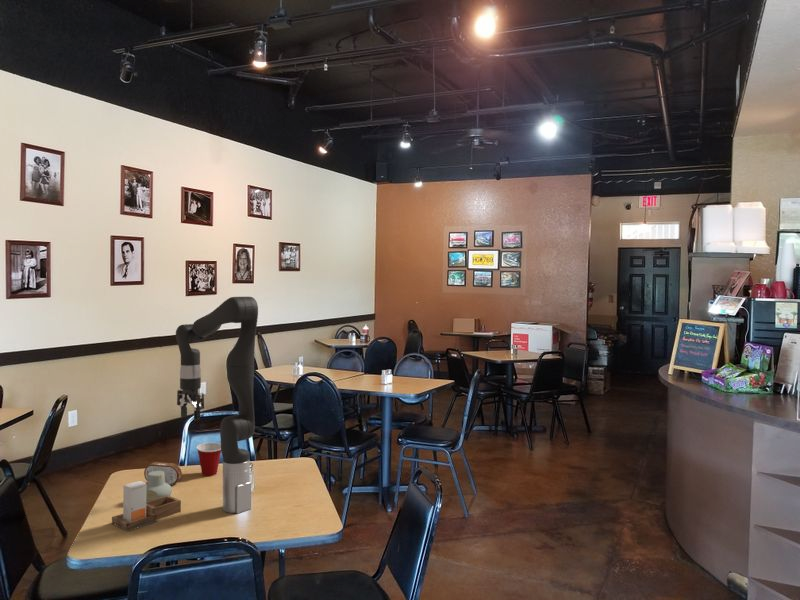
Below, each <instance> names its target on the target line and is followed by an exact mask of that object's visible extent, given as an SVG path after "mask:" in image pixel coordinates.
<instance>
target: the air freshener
mask: <svg viewBox="0 0 800 600" xmlns="http://www.w3.org/2000/svg"><path fill="white" fill-rule="evenodd" d="M146 482H147V483H146V484H147V487H146V502H148V501H151V500H154V499H158V498H161V497H164V496H171V495H172V493H173V488H172V485H169V484H167V483H165V473H164V472H163V471H153V472H150V473H148V475H147V480H146Z"/></svg>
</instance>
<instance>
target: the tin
mask: <svg viewBox="0 0 800 600" xmlns="http://www.w3.org/2000/svg"><path fill="white" fill-rule="evenodd" d="M153 471H163V472H164V473H165V483H167V484H169V485H170V486H174V485H175V484H177V483H179V482H180V481H181V479H182V476H183V472H182V469H181V467H180V466H179V465H178V464H176V463H173V462H171V463H170V462H159V461H153V462H151V463H149V464H148V465H146V467H145V469H144V472H143V475H144V479H145V481H147V475H148V473H150V472H153Z"/></svg>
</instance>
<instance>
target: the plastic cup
mask: <svg viewBox="0 0 800 600" xmlns="http://www.w3.org/2000/svg"><path fill="white" fill-rule="evenodd" d="M196 451H197V453H198V459H199V464H200V468H201V469H200V470H201V475H202V476H204V477H212V476H216V475H217V472H218V469H219V466H220V465H219V463H220V460H221V459H220V458H221V455H222V452H221V443H219V442H205V443H200V444H198V445H196Z"/></svg>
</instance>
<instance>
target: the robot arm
mask: <svg viewBox="0 0 800 600" xmlns="http://www.w3.org/2000/svg"><path fill="white" fill-rule="evenodd" d="M258 317H259V305H258V302H257V300H256V299H255V298H254V297H252V296H231V297H229V298H227V299H225V300H224V301H223V302H222V303H220V304H219V306H217V307H216V308H215V309H214V310H213V311H211V312H210V313H208V314H206V315H204V316H202V317H200V318H198V319H196V320H195V321H194V322H193V323H190V324H189V323H186V324H180V325H178V326H177V328H176V331H175V339H176V342H177V346H178V350H179V352H180V354H179V355H180V367H179V389H178V390H177V395H176V396H177V397H176V405H177V406H179V408H180V417H181V418H187V417H188V404H190V406H191V407H192V408H193V420H194V421H200V419H201V410H204V409H205V394H204V392H201V393H199V389H201V388H202V387H201V386H202V384H201V383H202V374H201V373H202V371H201V370H202V369H201V352H200V349H198V348H193V347H191V345H190V343H200V342H202V341H204V340H205V339H206V338H207V337H208V336H210V335H212V334H214V333H215V332H217V331H219V330H220V329H221V327H222V325H225V324H230V323H231V324H232V323H233V324H240V330H239V331H240V332H239V336H238V338H237V340H236V343H235V344H234V346H233V348H232V349H231V351H230V353H229V354H228V358H227V366H226V371H227V372H226V377H227V382H228V384H229V386H230V388H231V389H232V391H233V392H234V394H235V396H236V398H237V402H238V414H235V415H229V416H225V417H223V419H222V420H221V422H220V425H219V426H220V427H219V433H220V434H219V435H220V438H219V439H220V444H221V456H222V511H224V513H230V514H240V513H243V512H246V511H249V510H251V509H252V482H251V481H250V480H251V479H250V470H251V469H250V468H251V467H250V465H251V464H250V463H251V462H250V461H251V459H250V457H251V456H250V455H251V454H250V451H249V450H247V449H243V448H239V445H238V444H239V443H238V442H241V441H245V440H249V439H251V438H253V435H254V434H255V433H254V432H255V429H256V428H255V427H256V425H255V424H256V421H255V404H254V403H255V402H254V377H255V346H256V344H255V343H256V334H257V333H256V332H257V327H258V326H257V324H258V319H259V318H258Z"/></svg>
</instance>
